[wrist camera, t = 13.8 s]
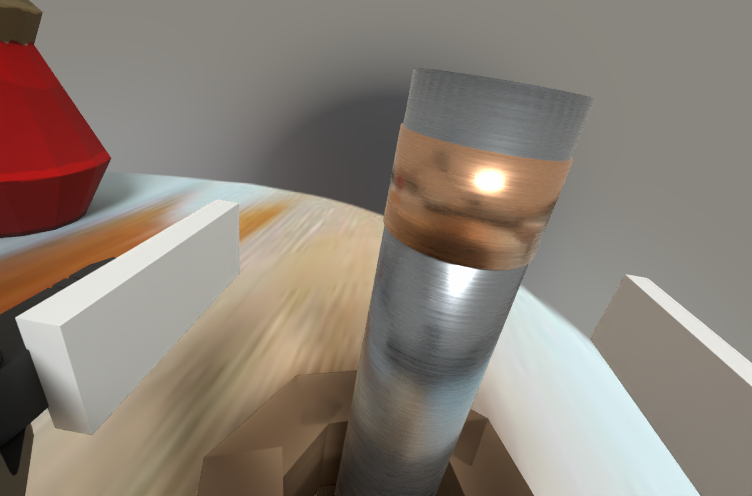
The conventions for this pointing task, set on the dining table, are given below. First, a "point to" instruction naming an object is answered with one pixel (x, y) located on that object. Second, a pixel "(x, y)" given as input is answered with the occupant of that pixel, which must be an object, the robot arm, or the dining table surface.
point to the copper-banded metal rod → (450, 266)
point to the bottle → (40, 135)
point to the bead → (337, 447)
